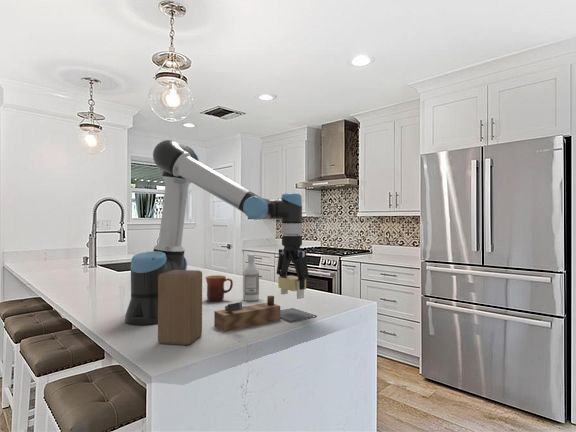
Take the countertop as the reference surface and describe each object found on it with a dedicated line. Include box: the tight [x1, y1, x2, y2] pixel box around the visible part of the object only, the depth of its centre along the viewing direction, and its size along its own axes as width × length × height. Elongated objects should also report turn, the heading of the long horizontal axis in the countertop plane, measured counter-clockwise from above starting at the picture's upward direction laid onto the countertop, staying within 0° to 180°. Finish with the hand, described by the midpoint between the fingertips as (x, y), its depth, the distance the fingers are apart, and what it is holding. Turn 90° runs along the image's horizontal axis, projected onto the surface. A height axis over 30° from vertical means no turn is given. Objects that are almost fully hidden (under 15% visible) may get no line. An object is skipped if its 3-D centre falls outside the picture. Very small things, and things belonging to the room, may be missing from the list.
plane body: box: [213, 295, 281, 332], centre depth 127 cm, size 22×7×8 cm, turn 127°
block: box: [157, 269, 203, 346], centre depth 109 cm, size 10×10×20 cm
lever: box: [224, 302, 243, 312], centre depth 119 cm, size 2×2×9 cm
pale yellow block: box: [277, 275, 307, 292], centre depth 137 cm, size 6×9×4 cm, turn 37°
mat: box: [280, 307, 317, 323], centre depth 137 cm, size 12×14×1 cm
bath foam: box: [242, 253, 260, 302], centre depth 164 cm, size 7×7×20 cm
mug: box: [205, 274, 234, 303], centre depth 162 cm, size 12×9×10 cm
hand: (292, 295), depth 137 cm, fingers closed on pale yellow block, 9 cm apart
